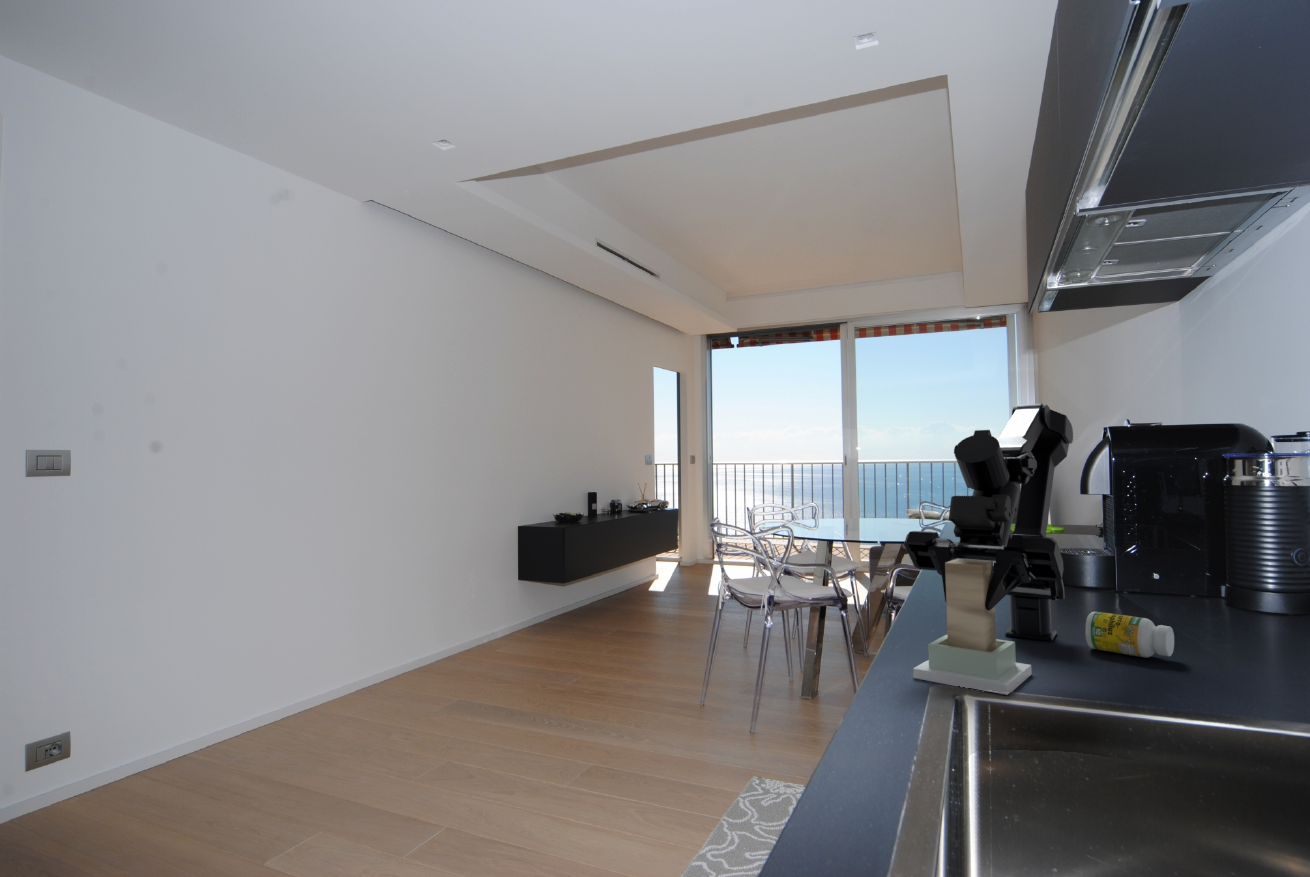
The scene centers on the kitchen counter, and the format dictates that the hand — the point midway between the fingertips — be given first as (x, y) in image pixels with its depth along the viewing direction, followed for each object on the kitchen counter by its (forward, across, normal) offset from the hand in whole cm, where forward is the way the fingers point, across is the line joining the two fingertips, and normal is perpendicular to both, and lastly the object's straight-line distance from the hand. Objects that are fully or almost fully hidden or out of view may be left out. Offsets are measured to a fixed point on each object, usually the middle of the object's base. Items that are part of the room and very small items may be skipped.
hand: (967, 606), depth 88 cm
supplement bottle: (-14, +9, +23) cm, 29 cm away
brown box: (+4, 0, +6) cm, 7 cm away
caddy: (+6, 0, +7) cm, 9 cm away
